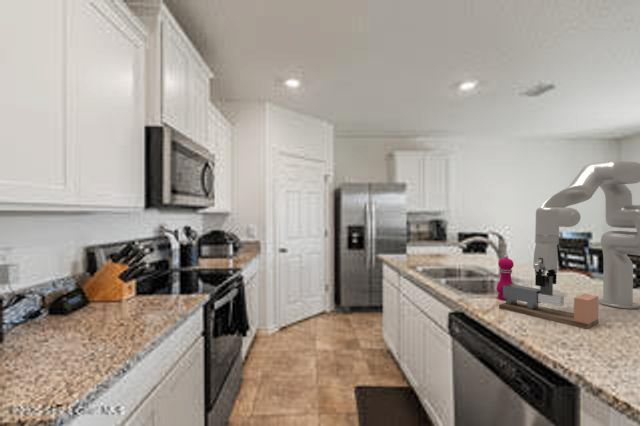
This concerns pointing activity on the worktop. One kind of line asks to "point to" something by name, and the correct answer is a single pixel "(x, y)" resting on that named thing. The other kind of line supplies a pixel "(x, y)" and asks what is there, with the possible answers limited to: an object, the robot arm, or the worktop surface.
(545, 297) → the tube
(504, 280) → the pepper mill
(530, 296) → the outer sleeve
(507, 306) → the base board
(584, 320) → the socket block
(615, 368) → the worktop surface
